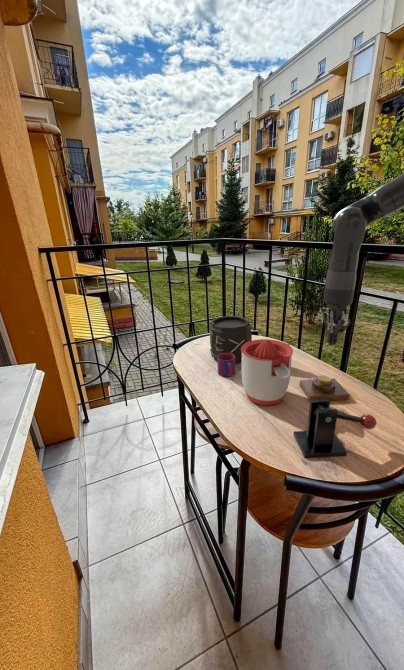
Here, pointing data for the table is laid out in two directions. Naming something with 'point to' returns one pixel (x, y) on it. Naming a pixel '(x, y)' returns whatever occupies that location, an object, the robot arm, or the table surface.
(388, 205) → the robot arm
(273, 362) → the citrus juicer
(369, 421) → the red-knob lever
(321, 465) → the table surface
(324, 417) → the black bracket
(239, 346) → the dark grey cylinder
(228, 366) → the mug
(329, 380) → the button
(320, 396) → the block
